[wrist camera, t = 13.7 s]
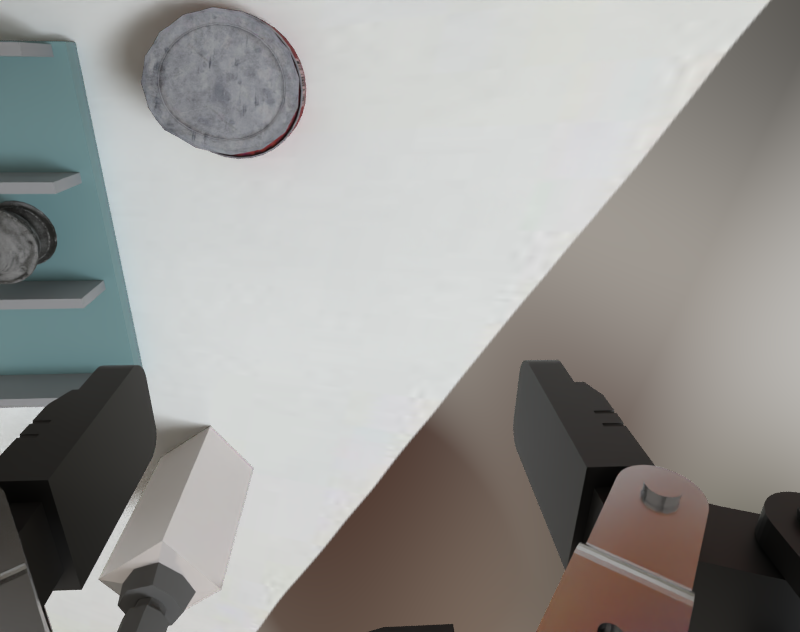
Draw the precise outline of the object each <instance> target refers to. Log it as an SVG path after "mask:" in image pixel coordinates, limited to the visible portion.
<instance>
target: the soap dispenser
mask: <svg viewBox="0 0 800 632" xmlns="http://www.w3.org/2000/svg"><path fill="white" fill-rule="evenodd" d="M253 469H254V468H253V467H252V466H251V465H250V464H249V463H248V462H247V461H246V460H245V459H244V458H243V457H242V456H241V455H240V454H239V453H238V452H237V451H236V450H235V449H234V448H233V447H232V446H231V445H230V444H229V443H228V442H227V441H226V440H225V439H224V438H223V437H222V436H221V435H220V434H219V433H217V432H216V431H215V430H214V429H213V428H212V427H211V426H209V427H208V428H206V429H205V430H203V431H202V432H200V433H198V434H197V435H195V436H194V437H192V438H191V439H189V440H187V441H186V442H184V443H183V444H181V445H180V446H178V447H177V448H175V449H173V450H172V451H170V452H169V453H167V454H166V455H164V456H162V457H161V458H160V460H159V462H158V464H157V466H156V468H155V470H154V472H153V474H152V476H151V478H150V480H149V482H148V483H147V485H146V487H145V489H144V491H143V493H142V495H141V497H140V499H139V501H138V503H137V505H136V507H135V509H134V511H133V513H132V515H131V517H130V519H129V521H128V522H127V524H126V526H125V528H124V530H123V532H122V534H121V536H120V538H119V540H118V542H117V544H116V546H115V548H114V550H113V552H112V554H111V556H110V558H109V560H108V561H107V563H106V565H105V567H104V569H103V571H102V573H101V575H100V577H99V579H98V580H100V581H101V582H103V583H104V584H105V585H107V586H108V587H109V588H111V589H112V590H113V591H115V592H116V593H117V594H119V595H120V597H119V602H118V606H119V607H120V609H121V610H122V611H123V612H124V613H125V616H124V618H123V619H122V622H121V624H120V626H119V629H118V631H117V632H166V630H167V627H168V626H169V625H172V624H173V623H174V622H175V621H176V620H177V619H178V617H179V616H180V615H181V614H182V613H183V612H184V610H186V609H188V608H190V607H191V606H193V605H195V604H197V603H198V602H200V601H202V600H204V599H206V598H207V597H209V596H211V595H213V594H214V593H216V592H218V591H220V590H221V589H222V585H223V581H224V577H225V574H226V570H227V566H228V562H229V559H230V555H231V551H232V547H233V544H234V540H235V536H236V533H237V529H238V525H239V521H240V518H241V514H242V510H243V506H244V503H245V499H246V495H247V491H248V488H249V484H250V480H251V476H252V473H253Z"/></svg>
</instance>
